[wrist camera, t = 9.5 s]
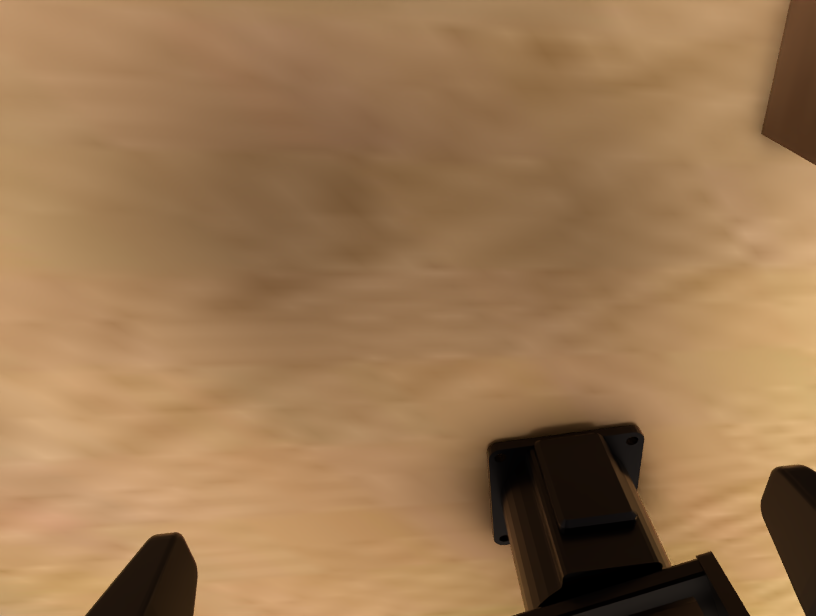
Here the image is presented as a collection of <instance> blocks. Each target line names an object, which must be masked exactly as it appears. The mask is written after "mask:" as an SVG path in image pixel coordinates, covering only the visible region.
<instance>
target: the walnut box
mask: <svg viewBox="0 0 816 616" xmlns="http://www.w3.org/2000/svg"><path fill="white" fill-rule="evenodd" d="M761 134H763V135H764V136H766V137H768V138H770V139H771V140H773V141H775V142H777V143H778V144H780V145H782V146H783V147H785V148H787V149H789V150H790V151H792V152H794V153H796V154H797V155H799V156H801V157H803V158H804V159H806V160H808V161H809V162H811V163H813V164H815V165H816V0H791V1H790V6H789V10H788V15H787V20H786V24H785V29H784V33H783V38H782V42H781V47H780V51H779V56H778V61H777V65H776V70H775V74H774V79H773V83H772V88H771V92H770V97H769V101H768V106H767V111H766V115H765V120H764V124H763V129H762V133H761Z"/></svg>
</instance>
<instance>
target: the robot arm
mask: <svg viewBox="0 0 816 616" xmlns="http://www.w3.org/2000/svg"><path fill="white" fill-rule="evenodd" d="M630 437H631V438H630ZM643 444H644V436H643V434H642V432H641V430H640V429H639V428H638V427H637V426H632V425H629V426H622V427H614V428H606V429H599V430H591V431H583V432H576V433H568V434H561V435H553V436H545V437H538V438H530V439H522V440H515V441H507V442H499V443H495V444H493V445H491V446H490V447H489V448H488V450H487V459H488V473H489V488H490V502H491V517H492V532H493V537H494V541H495V542H496V543H497V544H500V545H508V544H510V545H511V550H512V554H513V559H514V563H515V567H516V572H517V576H518V580H519V585H520V589H521V594H522V598H523V602H524V607H525V611H526V612H523V613H519V614H516V615H513V616H750V615H749V613H748V611H747V610H746V608H745V606H744V605H743V603H742V601H741V600H740V598H739V596H738V595H737V593H736V591H735V590H734V588H733V586H732V585H731V583H730V581H729V580H728V578H727V576H726V575H725V573H724V571H723V570H722V568H721V566H720V565H719V563H718V562H717V560H716V558H715V557H714V555H713V553H712V552H711V551H710V552H707V553H704V554H701V555H697V556H696V558H697V559H694V560H691V561H688V562H684V563H681V564H678V565H675V566H671V563H670V561H669V559H668V557H667V555H666V553H665V551H664V548H663V546H662V544H661V542H660V540H659V538H658V536H657V533H656V531H655V529H654V527H653V525H652V523H651V521H650V518H649V516H648V514H647V512H646V510H645V508H644V505H643V503H642V501H641V499H640V497H639V495H638V493H637V487H638V480H639V473H640V466H641V458H642V451H643ZM498 454H501V455H498ZM761 512H762V516H763V519H764V521H765V523H766V526H767V528H768V530H769V533H770V535H771V537H772V540H773V542H774V544H775V547H776V549H777V551H778V553H779V556H780V558H781V560H782V563H783V565H784V567H785V570H786V572H787V574H788V577H789V579H790V581H791V584H792V586H793V588H794V591H795V593H796V595H797V597H798V600H799V602H800V604H801V606H802V608H803V610H804V613H805V615H806V616H816V472H815V471H814V470H812V469H810V468H809V467H806V466H804V465H789V466H780V467H776V468H775V469H773V470H772V472H771V474H770V477H769V480H768V482H767V485H766V488H765V491H764V493H763V496H762V499H761ZM197 577H198V572H197V566H196V562H195V560H194V558H193V556H192V554H191V552H190V550H189V548H188V546H187V543H186V541H185V539H184V537H183V536H182V535H181V534H180V533H177V532H174V533H165V534H157V535H154V536H152V537H151V538H149V539H148V540H147V541H146V543H145V544H144V545H143V546H142V547H141V549H140V550H139V551H138V552H137V553H136V555H135V556H134V557H133V558H132V560H131V561H130V562H129V563H128V564H127V566H126V567H125V568H124V569H123V570H122V572H121V573H120V574H119V575H118V576H117V578H116V579H115V580H114V581H113V583H112V584H111V585H110V586H109V587H108V589H107V590H106V591H105V592H104V593H103V595H102V596H101V597H100V598H99V599H98V601H97V602H96V603H95V604H94V605H93V607H92V608H91V609H90V610H89V612H88V613H87V614H86V615H85V616H193V614H194V605H195V596H196V587H197Z"/></svg>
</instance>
